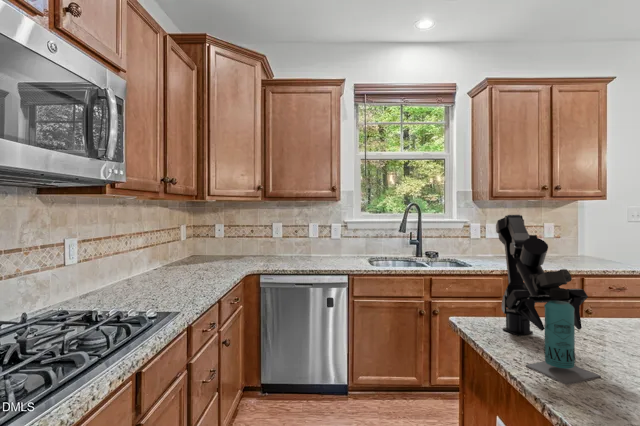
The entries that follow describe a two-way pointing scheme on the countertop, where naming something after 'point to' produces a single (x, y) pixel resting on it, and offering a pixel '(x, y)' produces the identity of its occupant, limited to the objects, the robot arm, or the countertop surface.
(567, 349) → the beverage bottle
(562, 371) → the mat
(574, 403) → the countertop surface
